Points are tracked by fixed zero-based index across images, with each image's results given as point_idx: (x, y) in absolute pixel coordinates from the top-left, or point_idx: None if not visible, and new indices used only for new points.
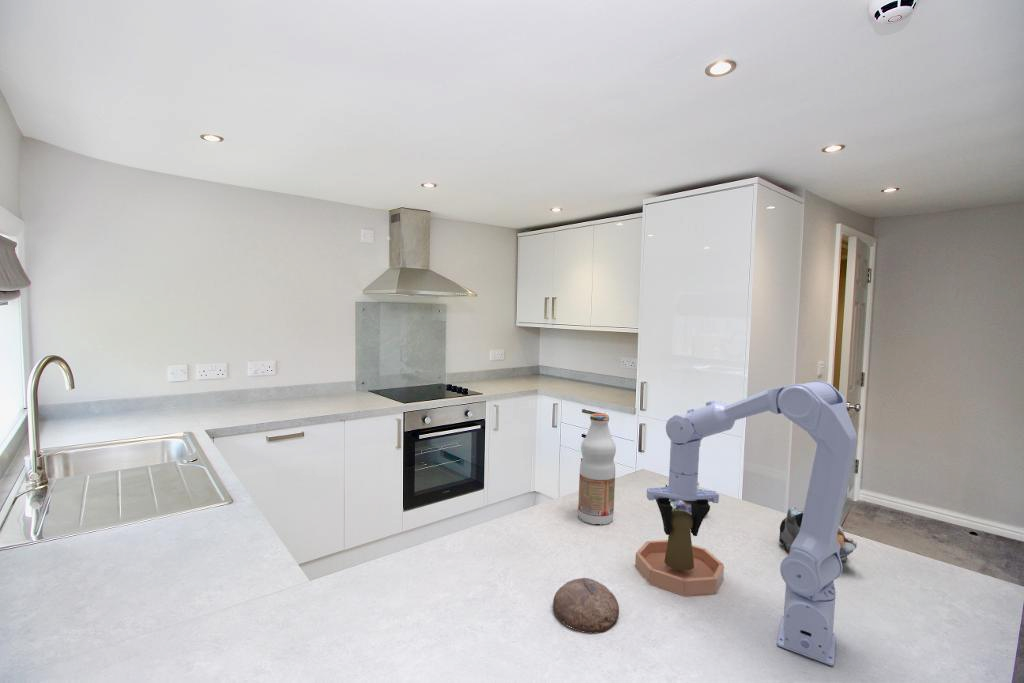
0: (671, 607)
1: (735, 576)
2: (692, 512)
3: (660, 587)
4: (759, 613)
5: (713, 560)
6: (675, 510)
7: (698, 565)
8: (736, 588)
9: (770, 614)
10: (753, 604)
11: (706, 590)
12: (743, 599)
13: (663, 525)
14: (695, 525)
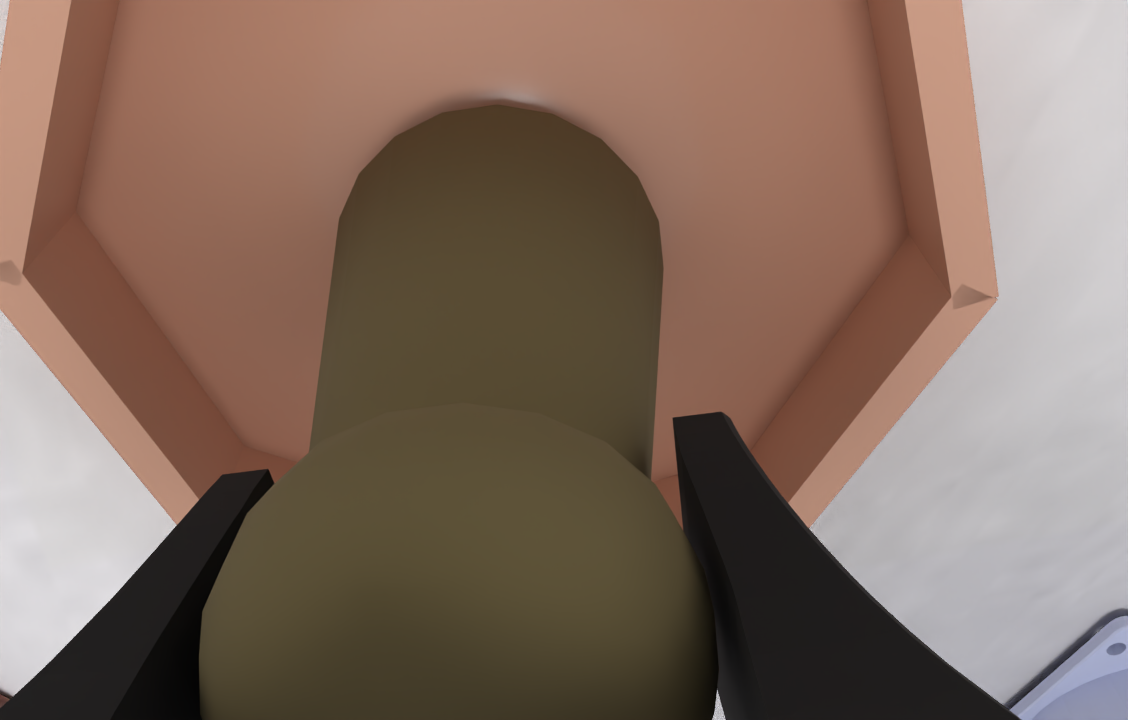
0: None
1: (1099, 148)
2: (752, 716)
3: None
4: (984, 591)
5: (926, 183)
6: (342, 687)
7: (751, 79)
8: (985, 351)
9: (1056, 586)
10: (1002, 516)
11: None
12: (959, 478)
13: (179, 527)
14: (723, 701)
